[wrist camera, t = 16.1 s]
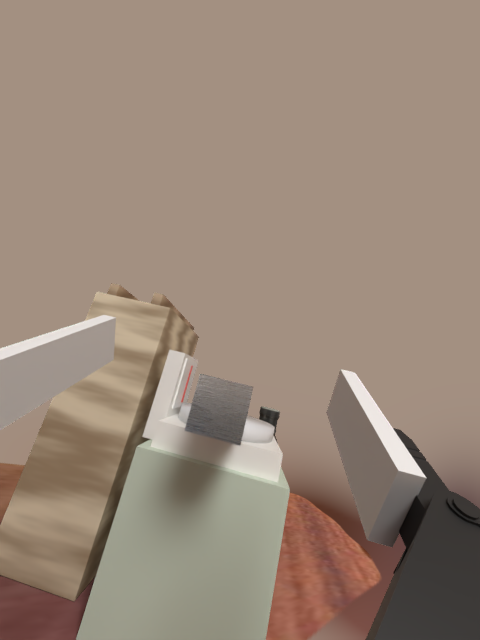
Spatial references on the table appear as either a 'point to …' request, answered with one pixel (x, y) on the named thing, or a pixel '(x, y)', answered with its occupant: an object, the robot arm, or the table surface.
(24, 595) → the table surface
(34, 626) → the table surface
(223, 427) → the bar
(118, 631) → the block
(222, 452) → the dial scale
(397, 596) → the robot arm
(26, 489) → the birch stand
